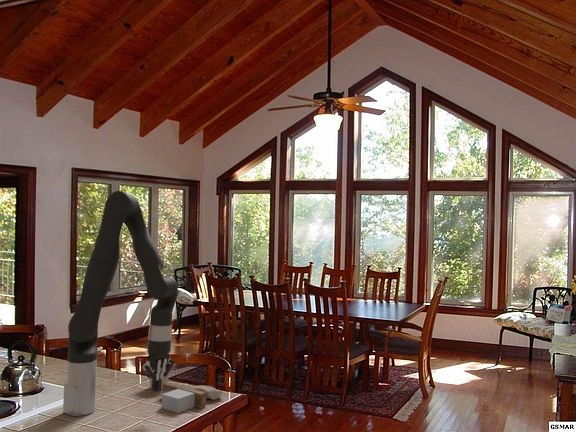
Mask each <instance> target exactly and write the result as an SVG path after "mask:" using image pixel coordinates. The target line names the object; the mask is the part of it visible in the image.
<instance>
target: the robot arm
mask: <svg viewBox="0 0 576 432" xmlns="http://www.w3.org/2000/svg"><path fill="white" fill-rule="evenodd" d="M123 225H125V226H126V228H127V229H128V232H129V234H130V237H131V241H132V247H133V251H134V255H135V257H136V260H137V262H138V264H139V265H140V268H141V270H142V271H143V272H142V273H143V278H144V282H145V287H146V290H147V293H148V294H149V295H150V296H151V298H152V299H154V300H157V301H156V304H155V305H154V306H153V307H151V309H150V310H151V311H150V320H149V328H148V338H147V353H148V354H147V355H148V356H147V358H146V362H145V363H142V364H140V368H141V370H142V371H143V373H144V374H145V376H146V377H147V379H149V378H150V379H152V389H151V390H152V391H153V392H160V391H161V384H162V379H163V377H164V376H165V377H166V376H167V375H168V373H169V374H170V371H171V370H172V368H173V366H174V364H175V362H176V361H175V360H173V359H172V358H171V357H170V356H171V355H170V353H171V352H172V336H173V329H172V327H173V326H172V325H173V311H174V308H175V306H176V301H177V298H178V292H179V286H178V282H177V280H176V279H174V278H173V277H171V276H164V277H163V273H162V270H163V268H164V261H163V260H162V258H161V256H160V253H159V252H158V250H157V247H156V246H155V244H154V241H153V239H152V237H151V235H150V232H149V229H148V227H147V224H146V221H145V218H144V214H143V211H142V208H141V204H140V202H139V200H138V199H137V197H136V196H135V195H133V194H131V193H129V192H125V191H123V190H115V191H113V192H111V193H110V194H109V195H108V197H107V199H106V200H105V203H104V208H103V213H102V217H101V222H100V226H99V231H98V233H97V236H96V239H95V242H94V246H93V249H92V252H91V254H90V257H89V260H88V263H87V266H86V270H85V273H84V274H85V275H84V278H83V283H82V290H81V295H80V298H79V301H78V303H77V305H76V308H75V311H74V313H73V315H72V316H71V317H70V320H69V322H68V325H67V331H68V345H67V367H66V369H67V370H66V371H67V372H66V383H64V384H63V403H62V405H63V407H62V413H63V414H66V415H69V416H72V417H80V416H88V415H91V414H94V412H95V410H96V393H97V392H96V391H97V390H96V389H97V363H98V361H97V359H98V357H97V356H98V340H99V339H98V335H99V334H98V333H99V321H100V315H101V311H102V307H103V304H104V301H105V299H106V296H107V295H108V292H109V289H110V287H111V285H112V283H113V281H114V277H115V274H116V273H117V272H116V271H117V269H118V266H119V261H120V256H121V255H120V253H121V252H120V251H121V249H120V235H121V231H122V228H123ZM150 368H151V369H150ZM165 370H166V371H165ZM150 379H149V380H150Z"/></svg>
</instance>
